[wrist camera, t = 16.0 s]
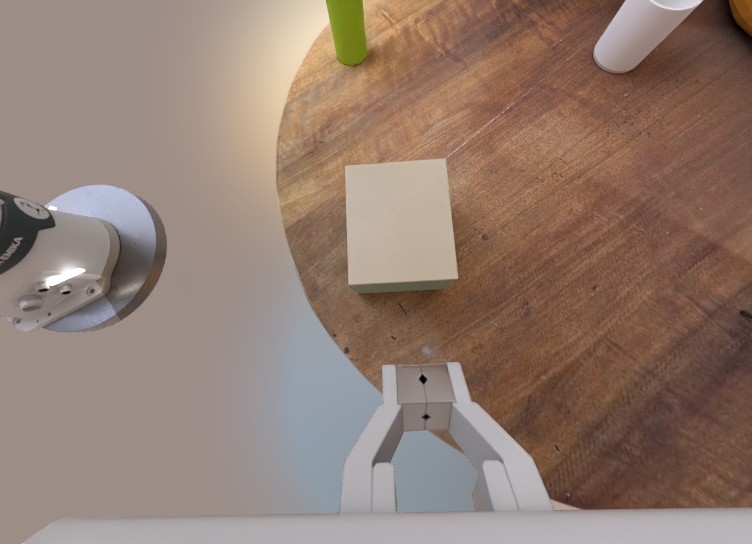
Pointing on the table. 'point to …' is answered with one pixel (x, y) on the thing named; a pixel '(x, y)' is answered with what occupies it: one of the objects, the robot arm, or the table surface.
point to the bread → (742, 14)
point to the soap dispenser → (348, 30)
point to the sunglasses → (746, 314)
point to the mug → (638, 31)
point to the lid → (399, 223)
